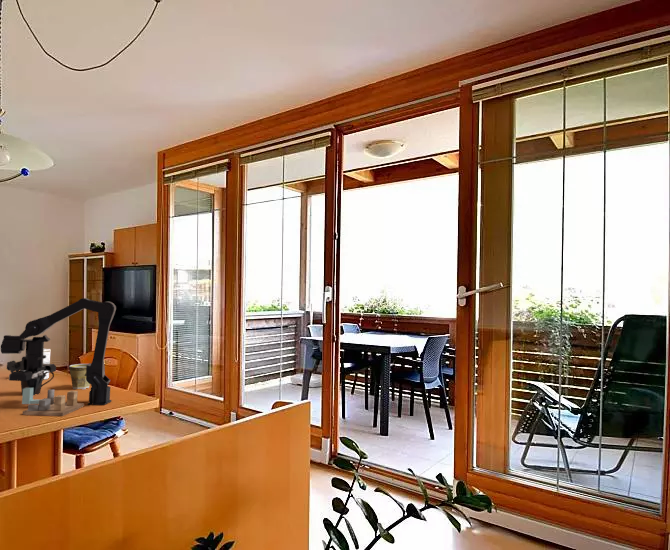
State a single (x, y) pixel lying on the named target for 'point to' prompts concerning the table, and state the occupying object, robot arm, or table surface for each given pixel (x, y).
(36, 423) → the table surface
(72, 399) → the block puzzle board
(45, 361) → the syrup box
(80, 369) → the ceramic cup
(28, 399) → the teal l-shaped block
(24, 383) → the coffee mug
